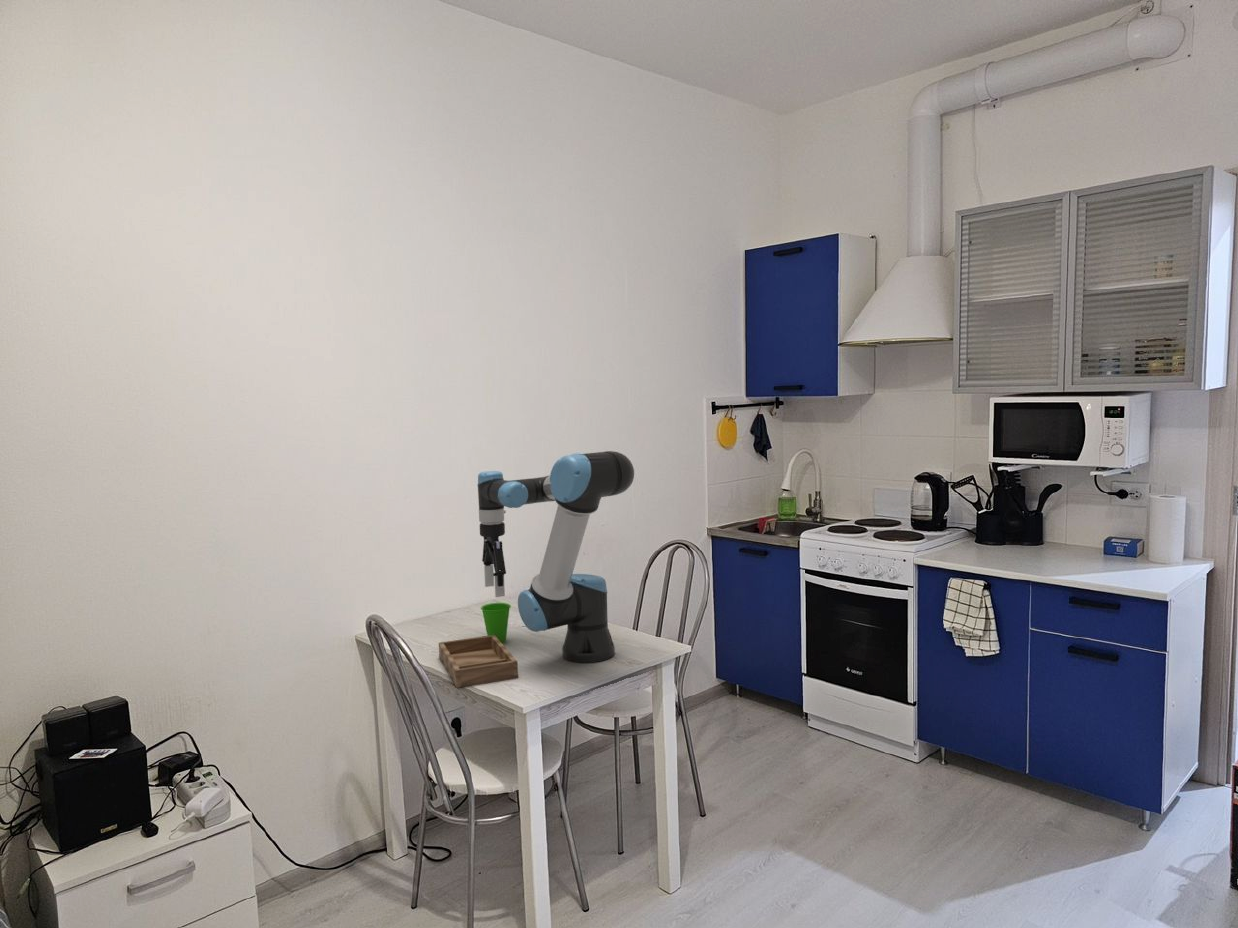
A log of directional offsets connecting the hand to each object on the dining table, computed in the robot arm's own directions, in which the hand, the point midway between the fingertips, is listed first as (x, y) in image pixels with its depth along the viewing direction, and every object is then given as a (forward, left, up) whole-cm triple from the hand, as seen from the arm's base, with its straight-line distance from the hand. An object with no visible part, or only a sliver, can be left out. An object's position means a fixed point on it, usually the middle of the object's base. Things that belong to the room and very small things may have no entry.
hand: (494, 591), depth 248 cm
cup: (0, 0, -16) cm, 16 cm away
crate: (-16, +17, -16) cm, 28 cm away
